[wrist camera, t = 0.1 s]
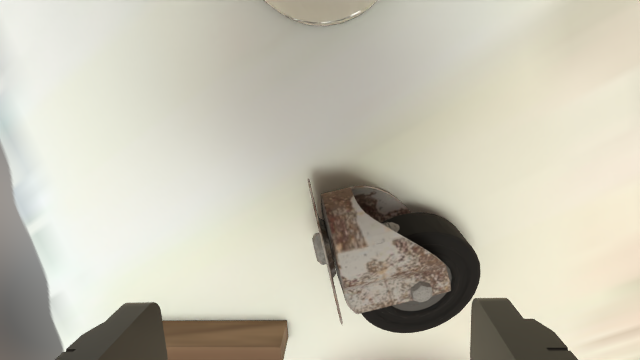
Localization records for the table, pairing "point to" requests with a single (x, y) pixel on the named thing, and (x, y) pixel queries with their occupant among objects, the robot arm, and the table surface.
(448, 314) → the caster wheel
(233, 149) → the table surface
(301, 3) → the robot arm
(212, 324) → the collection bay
